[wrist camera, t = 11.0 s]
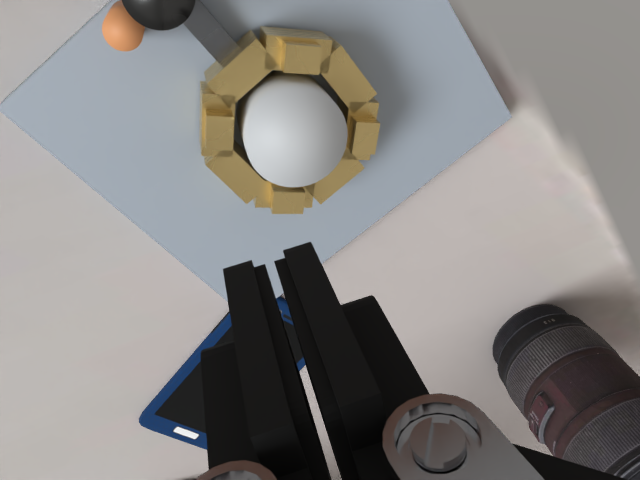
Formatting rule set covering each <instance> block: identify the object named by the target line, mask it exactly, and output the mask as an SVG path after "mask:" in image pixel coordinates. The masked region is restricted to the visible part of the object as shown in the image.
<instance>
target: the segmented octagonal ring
mask: <svg viewBox="0 0 640 480" xmlns="http://www.w3.org/2000/svg"><path fill="white" fill-rule="evenodd" d="M122 3H123V5H124V7H125V9H126V10H127V12H128V13H129V14H130V16H131V17H132V18H133V19H134V20H135V21H137V22H138V23H139V24H141V25H143V26H144V27H147V28H149V29H153V30H159V31H164V30H170V29H174V28H176V27H178V26H180V25H181V24H184V25H185V26H186V27H187V29H188V30H189V31H190V32H191V33H192V34H193V35H194V36H195V37H196V39H197V40H198V41H199V42H200V43H201V44H202V45H203V46H204V47H205V48H206V50H207V51H208V52H209V53H210V54H211V55H212V56H213V57H214V58H215V59H216V61H215V62H214V63H213V64H212V65H211V66H210V67H209V68H208V69H207V70H205V71H204V74H205V79H206V81H200V120H199V142H200V149H201V156H204V160H205V165H206V166H207V167H208V168H209V169H210V170H211V171H212V172H213V173H214V174H215V175H216V176H217V177H218V178H220V179H221V180H222V181H223V182H224V183H225V184H226V185H227V186H228V187H229V188H230V189H231V190H232V191H233V192H234V193H235V194H236V195H237V196H238V197H240V198H241V199H242V200H243V201H244V202H245V203H246V204H248V203H249V202H250V201H251V200H253V201H254V205H255V208H270V210H271V213H272V214H303V211H304V208H312V204H313V197H314V198H315V199H316V200H317V201H318V202H319V204H320V205H321V204H322V203H323V202H324V201H326V200H327V199H328V198H329V197H330V196H332V195H333V194H334V193H335V192H337V191H338V190H339V189H340V188H341V187H343V186H344V185H345V184H346V183H347V182H349V181H350V180H351V179H352V178H354V177H355V176H356V175H357V174H358V173H360V172H361V171H362V170H363V169H364V166H363V165H362V164H361V162H360V161H359V160H370V155H371V154H372V155H375V152H376V146H377V140H378V134H379V129H380V122H379V121H378V120H377V113H378V108H379V102H378V101H377V100H376V99H375V98H374V96H375V95H376V94H377V93H376V91H375V90H374V89H373V87H372V86H371V85H370V83H369V82H368V81H367V79H366V78H365V77H364V75H363V74H362V73H361V71H360V70H359V68H358V67H357V66H356V64H355V63H354V62H353V60H352V59H351V58H350V56H349V55H348V54H347V52H346V51H345V50H344V48H343V47H342V46H341V45H340V44H339V43H338V42H337V41H335V40H334V39H333V38H332V37H331V36H329V37H328V36H327V35H325V34H324V33H323V32H322V31H314V30H302V29H290V28H278V27H266V26H260V35H259V39H258V38H257V37H256V35H255V34H254V33H253V32H252V31H251V29H250V30H249V31H248V32H247V33H246V34H245V35H244V36H243V37H241V38H240V39H239V40H238V41H237V42H235V40H234V39H233V38H232V37H231V36H230V35H229V33H228V32H227V31H226V30H225V29H224V28H223V26H222V25H221V24H220V23H219V22H218V21H217V20H216V18H215V17H214V16H213V15H212V14H211V13H210V11H209V10H208V9H207V8H206V7H205V6H204V4H203V3H202V2H201V1H200V0H122ZM272 70H280V71H283V72H284V73H297V74H313V75H319V73H320V74H321V76H322V77H323V78H324V79H325V81H326V82H327V83H328V84H329V86H330V87H331V88H332V89H333V91H334V92H335V93H336V94H337V96H338V97H337V106H338V107H339V108H340V110H341V112H342V114H343V116H344V118H345V121H346V125H347V134H348V137H347V144H346V149H345V151H344V154H343V156H342V158H341V160H340V162H339V163H338V165H337V166H336V167H335V168H334V170H333V171H332V172H331V173H329V174H328V175H327V176H326V177H324V178H323V179H321V180H319V181H318V182H316V183H313V184H311V185H307V186H303V187H284V186H279V185H276V184H274V183H272V182H270V181H268V180H266V179H265V178H263V177H262V176H261V175H260V174H259V173H258V172H257V171H256V170H255V169H254V167H253V166H252V164H251V162H250V160H249V158H248V155H247V152H246V151H245V150H244V149H243V148H242V147H241V146H240V145H239V144H238V143H237V142H236V141H235V140H234V121H235V103H236V102H237V101H238V100H239V99H241V98H242V97H243V96H244V95H245V94H246V93H247V92H248V91H249V90H251V89H252V88H253V87H254V86H255V85H256V84H257V83H258V82H260V81H261V80H262V79H263V78H264V77H265V76H266V75H267V74H269V73H270V72H271V71H272Z"/></svg>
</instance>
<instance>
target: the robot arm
mask: <svg viewBox="0 0 640 480" xmlns="http://www.w3.org/2000/svg"><path fill="white" fill-rule="evenodd" d="M283 253H284V257H285V258H282V259H279V260H276V261H274V263H275V266H276V269H277V272H278V276H279V279H280V282H281V285H282V289H283V292H284V295H285V299H286V302H287V305H288V308H289V312H290V315H291V318H292V321H293V325H294V328H295V331H296V335H297V338H298V341H299V344H300V348H301V351H302V354H303V357H304V361H305V364H306V367H307V370H308V374H309V377H310V380H311V383H312V386H313V390H314V393H315V396H316V399H317V402H318V405H319V409H320V412H321V415H322V418H323V421H324V424H325V427H326V431H327V434H328V437H329V440H330V443H331V446H332V450H333V453H334V456H335V459H336V462H337V465H338V468H339V472H340V475H341V478H342V480H628V479H625V478H621V477H618V476H615V475H612V474H609V473H605V472H602V471H599V470H596V469H592V468H589V467H586V466H583V465H580V464H576V463H573V462H570V461H567V460H563V459H560V458H557V457H554V456H551V455H547V454H544V453H541V452H538V451H535V450H531V449H528V448H525V447H522V446H518V445H515V444H512V443H511V442H510V441H509V440H508V439H507V438H506V437H505V436H504V434H503V433H502V432H501V431H500V430H499V429H498V428H497V427H496V426H495V424H494V423H493V422H492V421H491V420H490V419H489V418H488V417H487V416H486V415H485V413H484V412H482V411H481V410H480V409H479V408H478V407H476V406H475V405H474V404H473V403H471V402H469V401H467V400H465V399H462V398H460V397H458V396H454V395H447V394H441V393H439V394H429V392H428V390H427V389H426V387H425V385H424V383H423V382H422V380H421V378H420V376H419V374H418V373H417V371H416V369H415V367H414V366H413V364H412V362H411V360H410V359H409V357H408V355H407V353H406V352H405V350H404V348H403V346H402V344H401V343H400V341H399V339H398V337H397V336H396V334H395V332H394V330H393V329H392V327H391V325H390V323H389V321H388V320H387V318H386V316H385V314H384V313H383V311H382V309H381V307H380V306H379V304H378V302H377V300H376V299H375V297H374V296H372V295H371V296H368V297H365V298H361V299H358V300H355V301H352V302H349V303H346V304H343V305H340V303H339V301H338V299H337V297H336V294H335V292H334V290H333V288H332V286H331V284H330V281H329V279H328V277H327V275H326V273H325V271H324V268H323V266H322V264H321V262H320V260H319V258H318V255H317V253H316V251H315V249H314V247H313V245H312V243H311V242H308V243H305V244H301V245H298V246H295V247H292V248H288V249H285V250H283ZM223 274H224V280H225V286H226V293H227V299H228V305H229V311H230V317H231V324H232V330H233V336H234V340H231V341H228V342H225V343H222V344H219V345H216V346H213V347H210V348H207V349H203V350H202V351H201V372H202V385H203V398H204V411H205V425H206V438H207V451H208V464H209V470H208V471H207V472H205V473H204V474H202V475H200V476H199V477H198V478H197V479H196V480H331V476H330V473H329V470H328V466H327V463H326V460H325V456H324V453H323V450H322V446H321V443H320V439H319V436H318V433H317V429H316V426H315V423H314V419H313V416H312V413H311V409H310V406H309V403H308V399H307V396H306V392H305V389H304V386H303V382H302V379H301V376H300V373H299V370H298V366H297V363H296V360H295V357H294V354H293V351H292V347H291V344H290V341H289V338H288V335H287V332H286V328H285V325H284V322H283V319H282V316H281V313H280V310H279V306H278V303H277V300H276V297H275V294H274V291H273V287H272V284H271V281H270V278H269V275H268V272H267V269H266V265H265V264H263V265H260V266H257V267H254V265H253V262H252V260H250V261H246V262H243V263H240V264H237V265H233V266H230V267H227V268H224V269H223Z"/></svg>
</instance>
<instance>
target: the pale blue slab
mask: <svg viewBox="0 0 640 480" xmlns="http://www.w3.org/2000/svg"><path fill="white" fill-rule="evenodd" d="M200 1H201V2H202V3H203V4H204V6H205V7H206V8H207V9H208V10H209V11H210V13H211V14H212V15H213V16H214V17H215V18H216V20H217V21H218V22H219V23H220V24H221V25H222V26H223V28H224V29H225V30H226V31H227V32H228V33H229V35H230V36H231V37H232V38H233V39H234V40H235V42H237V41H238V40H239V39H240V38H241V37H243V36H244V35H245V34H246V33H247V32H248V31H249V30H250V29H251V31H252V32H253V33H254V34H255V35H256V37H257V38H258V39H259V35H260V26H266V27H278V28H290V29H302V30H314V31H322V32H323V33H324V34H325V35H327V36H328V37H329V36H331V37H332V38H333V39H334V40H335V41H337V42H338V43H339V44H340V45H341V46H342V47H343V48H344V50H345V51H346V52H347V54H348V55H349V56H350V58H351V59H352V60H353V62H354V63H355V64H356V66H357V67H358V68H359V70H360V71H361V73H362V74H363V75H364V77H365V78H366V79H367V81H368V82H369V83H370V85H371V86H372V87H373V89H374V90H375V91H376V93H377V94H376V95H375V96H374V98H375V99H376V100H377V101H378V102H379V108H378V113H377V120H378V121H379V122H380V129H379V134H378V140H377V146H376V152H375V155H372V154H371V155H370V160H359V161H360V162H361V164H362V165H363V166H364V169H363V170H362V171H361V172H360V173H358V174H357V175H356V176H355V177H354V178H352V179H351V180H350V181H349V182H347V183H346V184H345V185H344V186H343V187H341V188H340V189H339V190H338V191H337V192H335V193H334V194H333V195H332V196H330V197H329V198H328V199H327V200H326V201H324V202H323V203H322V204H321V205H320V204H319V202H318V201H317V200H316V199H315V198H314V197H313V204H312V208H304V211H303V214H272V213H271V210H270V208H255V205H254V201H253V200H251V201H250V202H249V203H248V204H246V203H245V202H244V201H243V200H242V199H241V198H240V197H238V196H237V195H236V194H235V193H234V192H233V191H232V190H231V189H230V188H229V187H228V186H227V185H226V184H225V183H224V182H223V181H222V180H221V179H220V178H218V177H217V176H216V175H215V174H214V173H213V172H212V171H211V170H210V169H209V168H208V167H207V166H206V165H205V160H204V156H201V149H200V142H199V120H200V81H206V79H205V74H204V71H205V70H207V69H208V68H209V67H210V66H211V65H212V64H213V63H214V62H215V61H216V59H215V58H214V57H213V56H212V55H211V54H210V53H209V52H208V51H207V50H206V48H205V47H204V46H203V45H202V44H201V43H200V42H199V41H198V40H197V39H196V37H195V36H194V35H193V34H192V33H191V32H190V31H189V30H188V29H187V27H186V26H185V25H184V24H181V25H180V26H178V27H176V28H174V29H170V30H164V31H159V30H153V29H149V28H147V27H144V26H143V25H141V24H139V23H138V22H137V21H135V20H134V19H133V18H132V17H131V16H130V14H129V13H128V12H127V10H126V9H125V7H124V5H123V3H122V0H111V1H110V2H108V3H107V4H106V5H105V6H104V7H103V8H102V9H101V10H100V11H99V12H98V13H97V14H96V15H94V16H93V17H92V18H91V19H90V20H89V21H88V22H87V23H86V24H85V25H84V26H83V27H82V28H80V29H79V30H78V31H77V32H76V33H75V34H74V35H73V36H72V37H71V38H70V39H69V40H68V41H66V42H65V43H64V44H63V45H62V46H61V47H60V48H59V49H58V50H57V51H56V52H55V53H54V54H52V55H51V56H50V57H49V58H48V59H47V60H46V61H45V62H44V63H43V64H42V65H41V66H40V67H39V68H37V69H36V70H35V71H34V72H33V73H32V74H31V75H30V76H29V77H28V78H27V79H26V80H25V81H23V82H22V83H21V84H20V85H19V86H18V87H17V88H16V89H15V90H14V91H13V92H12V93H11V94H9V95H8V96H7V97H6V98H5V99H4V100H3V101H2V103H1V104H0V112H1V113H3V114H4V115H5V116H6V117H7V118H9V119H10V120H11V121H12V122H13V123H15V124H16V125H17V126H18V127H19V128H21V129H22V130H23V131H24V132H25V133H27V134H28V135H29V136H30V137H31V138H33V139H34V140H35V141H36V142H37V143H39V144H40V145H41V146H42V147H43V148H45V149H46V150H47V151H48V152H49V153H51V154H52V155H53V156H54V157H55V158H57V159H58V160H59V161H60V162H61V163H62V164H64V165H65V166H66V167H67V168H68V169H70V170H71V171H72V172H73V173H74V174H76V175H77V176H78V177H79V178H80V179H82V180H83V181H84V182H85V183H86V184H88V185H89V186H90V187H91V188H92V189H94V190H95V191H96V192H97V193H98V194H100V195H101V196H102V197H103V198H104V199H106V200H107V201H108V202H109V203H110V204H112V205H113V206H114V207H115V208H116V209H117V210H119V211H120V212H121V213H122V214H123V215H125V216H126V217H127V218H128V219H129V220H131V221H132V222H133V223H134V224H135V225H137V226H138V227H139V228H140V229H141V230H143V231H144V232H145V233H146V234H147V235H149V236H150V237H151V238H152V239H153V240H155V241H156V242H157V243H158V244H159V245H161V246H162V247H163V248H164V249H165V250H167V251H168V252H169V253H170V254H171V255H172V256H174V257H175V258H176V259H177V260H178V261H180V262H181V263H182V264H183V265H184V266H186V267H187V268H188V269H189V270H190V271H192V272H193V273H194V274H195V275H196V276H198V277H199V278H200V279H201V280H202V281H204V282H205V283H206V284H207V285H208V286H210V287H211V288H212V289H213V290H214V291H216V292H217V293H218V294H219V295H220V296H222V297H223V298H224V299H225V300H226V301H228V299H227V293H226V286H225V280H224V274H223V269H224V268H227V267H230V266H233V265H237V264H240V263H243V262H246V261H250V260H252V262H253V265H254V267H257V266H260V265H263V264H265V265H266V269H267V272H268V275H269V278H270V281H271V284H272V287H273V291H274V294H275V297H276V298H278V297H279V296H280V295H282V294H283V293H284V292H283V289H282V285H281V282H280V279H279V276H278V272H277V269H276V266H275V263H274V261H276V260H279V259H282V258H285V257H284V253H283V250H285V249H288V248H292V247H295V246H298V245H301V244H305V243H308V242H311V243H312V245H313V247H314V249H315V251H316V253H317V255H318V258H319V260H320V262H321V264H322V263H323V262H324V261H326V260H327V259H328V258H330V257H331V256H332V255H333V254H335V253H336V252H337V251H339V250H340V249H341V248H343V247H344V246H345V245H346V244H348V243H349V242H350V241H352V240H353V239H354V238H356V237H357V236H358V235H359V234H361V233H362V232H363V231H365V230H366V229H367V228H369V227H370V226H371V225H372V224H374V223H375V222H376V221H378V220H379V219H380V218H382V217H383V216H384V215H385V214H387V213H388V212H389V211H391V210H392V209H393V208H395V207H396V206H397V205H398V204H400V203H401V202H402V201H404V200H405V199H406V198H408V197H409V196H410V195H411V194H413V193H414V192H415V191H417V190H418V189H419V188H421V187H422V186H423V185H424V184H426V183H427V182H428V181H430V180H431V179H432V178H433V177H435V176H436V175H437V174H439V173H440V172H441V171H443V170H444V169H445V168H446V167H448V166H449V165H450V164H452V163H453V162H454V161H456V160H457V159H458V158H459V157H461V156H462V155H463V154H465V153H466V152H467V151H469V150H470V149H471V148H472V147H474V146H475V145H476V144H478V143H479V142H480V141H482V140H483V139H484V138H485V137H487V136H488V135H489V134H491V133H492V132H493V131H495V130H496V129H497V128H498V127H500V126H501V125H502V124H504V123H505V122H506V121H508V120H509V119H510V118H511V117H512V116H511V114H510V112H509V110H508V108H507V106H506V105H505V103H504V101H503V99H502V97H501V96H500V94H499V92H498V90H497V88H496V87H495V85H494V83H493V81H492V79H491V77H490V76H489V74H488V72H487V70H486V68H485V67H484V65H483V63H482V61H481V59H480V58H479V56H478V54H477V52H476V50H475V48H474V47H473V45H472V43H471V41H470V39H469V38H468V36H467V34H466V32H465V30H464V28H463V27H462V25H461V23H460V21H459V19H458V18H457V16H456V14H455V12H454V10H453V9H452V7H451V5H450V3H449V1H448V0H200ZM337 97H338V96H337V94H336V93H335V92H334V91H333V89H332V88H331V87H330V86H329V84H328V83H327V82H326V81H325V79H324V78H323V77H322V76H321V74H320V73H319V75H313V74H297V73H284V72H283V71H280V70H272V71H271V72H270V73H269V74H267V75H266V76H265V77H264V78H263V79H262V80H261V81H260V82H258V83H257V84H256V85H255V86H254V87H253V88H252V89H251V90H249V91H248V92H247V93H246V94H245V95H244V96H243V97H242V98H241V99H239V100H238V101H237V102H236V103H235V121H234V140H235V141H236V142H237V143H238V144H239V145H240V146H241V147H242V148H243V149H244V150H245V151H246V152H247V155H248V158H249V160H250V162H251V164H252V166H253V167H254V169H255V170H256V171H257V172H258V173H259V174H260V175H261V176H262V177H263V178H265V179H266V180H268V181H270V182H272V183H274V184H276V185H279V186H284V187H303V186H307V185H311V184H313V183H316V182H318V181H319V180H321V179H323V178H324V177H326V176H327V175H328V174H329V173H331V172H332V171H333V170H334V168H335V167H336V166H337V165H338V163H339V162H340V160H341V158H342V156H343V154H344V151H345V149H346V144H347V137H348V134H347V125H346V121H345V118H344V116H343V114H342V112H341V110H340V108H339V107H338V106H337Z"/></svg>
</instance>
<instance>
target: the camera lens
mask: <svg viewBox="0 0 640 480" xmlns="http://www.w3.org/2000/svg"><path fill="white" fill-rule="evenodd" d="M493 356H494V359H495V361H496V363H497V364H498V373H499V376H500V378H501V380H502V382H503V383H504V385H505V386H506V389H507V391H508V393H509V395H510V397H511V399H512V400H513V402H514V403H515V404H516V406H517V407H518V409H519V410H520V411H521V413H522V414H523V415H524V417H525V418H526V419H527V420H528V421H529V428H530V430H531V431H532V433H533V434H534V435H535V437H536V438H537V440H538V442H540V443H543V444H545V445H546V446H547V447H548V449H549V450H550V452H551V453H552V454H553V456H554V457H557V458H560V459H563V460H567V461H570V462H573V463H576V464H580V465H583V466H586V467H589V468H592V469H596V470H599V471H602V472H605V473H609V474H612V475H615V476H618V477H621V478H625V479H628V480H640V377H639V376H638V375H637V374H636V373H635V372H634V371H633V370H632V369H631V368H630V367H629V366H628V365H627V364H626V363H625V362H624V361H623V360H622V358H620V356H619V355H618V354H617V352H616V351H615V350H614V349H613V348H612V347H611V346H610V345H609V344H608V343H607V342H606V341H605V340H604V339H603V338H602V337H601V336H600V335H599V334H597V333H596V332H595V331H594V330H592V329H591V328H590V327H588V326H587V325H586V324H585V323H584V322H583V321H581V320H580V319H579V318H577V317H575V316H572V315H569V314H567V313H566V312H565V311H564V310H563V309H561V308H559V307H557V306H553V305H539V306H533V307H530V308H528V309H525V310H523V311H521V312H519V313H518V314H516V315H514V316H513V317H512V318H510V319H509V320H508V321H507V322H506V323H505V324H504V325H503V326H502V328H501V329H500V330H499V332H498V334H497V335H496V337H495V340H494V344H493Z"/></svg>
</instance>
